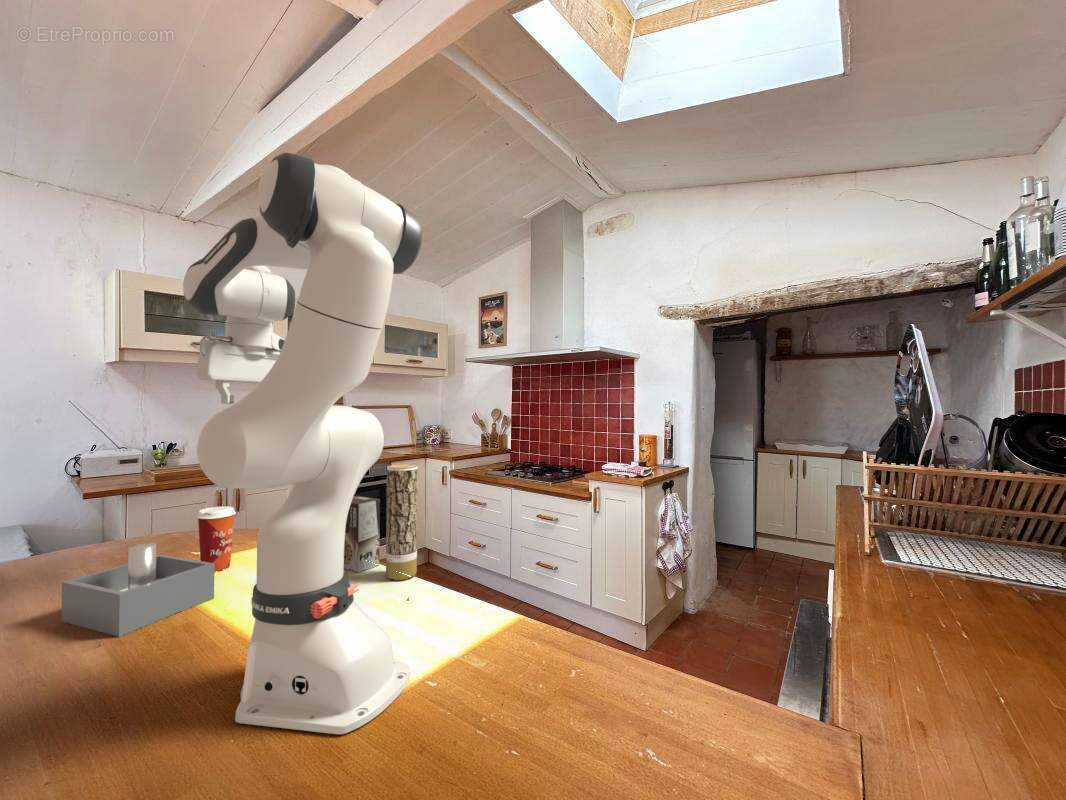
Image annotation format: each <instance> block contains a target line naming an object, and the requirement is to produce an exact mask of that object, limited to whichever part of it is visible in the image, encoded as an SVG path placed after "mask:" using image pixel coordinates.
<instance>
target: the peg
mask: <svg viewBox="0 0 1066 800" xmlns="http://www.w3.org/2000/svg"><path fill="white" fill-rule="evenodd" d="M156 556H157V542H144V543H137V544H134V545H131V546H129V547H128V556H127V558H128V560H127V561H128V563H127V564H128V590H130V589H133V588H136V587H139V586H142V585H145V584H148V583H151V582H154V581H156Z"/></svg>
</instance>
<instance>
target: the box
mask: <svg viewBox="0 0 1066 800" xmlns="http://www.w3.org/2000/svg"><path fill="white" fill-rule="evenodd" d="M214 568H215V563H209V562H203V561H201V560H197V559H189V558H186V557H185V558H183V557H179V556H174V555H173V556H172V555H167V554H156V581H154V582H151V583H148V584H145V585H142V586H139V587H136V588H133V589H130V590H128V563H126V564H125V563H124V564H121V565H118V566H114V567H110V568H106V569H104V570H101V571H96V572H94V573H93V572H92V573H90V574H89V573H88V574H86V575H82V576H78V577H75V578H72V579H71V578H70V579H69V580H65V581H62V582H61V611H60V612H61V617H60V618H61V619H60V621H61V622H62V623H66V624H70V625H74V626H77V627H81V628H83V629H88V630H92V631H96V632H100V633H104V634H107V635H111V636H114V637H119V638H120V637H122V636H125V635H127V634H129V633H130V634H131V632H132V633H133V632H135V631H137V630H139V628H140V629H142V628H145V627H147V626H149V624H150V625H151V624H154V622H155V623H157V622H159V620H160V621H162V620H164V619H167V618H169V617H171V616H170V615H172V616H174V615H176V614H175V613H177V612H179V613H181V612H180V611H182V610H184V611H186V610H185V609H187V610H189V609H191V608H190V607H192V608H194V607H196V605H197V606H199V605H202V604H204V603H206V602H209V601H211V600H213V598H214V599H215V572H214ZM210 599H211V600H210ZM208 600H209V601H208ZM205 601H206V602H205ZM203 602H204V603H203ZM198 604H199V605H198ZM193 606H194V607H193ZM188 608H189V609H188ZM182 612H183V611H182ZM173 614H174V615H173ZM177 614H178V613H177ZM168 616H169V617H168ZM166 617H167V618H166ZM161 619H162V620H161ZM156 621H157V622H156ZM146 625H147V626H146ZM144 626H145V627H144ZM141 627H142V628H141ZM136 629H137V630H136ZM134 630H135V631H134ZM124 634H125V635H124Z"/></svg>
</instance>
